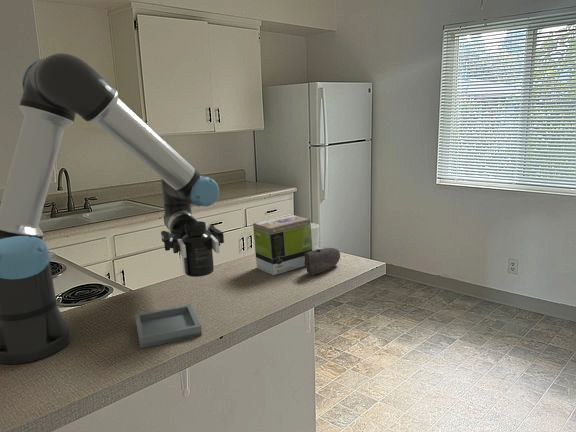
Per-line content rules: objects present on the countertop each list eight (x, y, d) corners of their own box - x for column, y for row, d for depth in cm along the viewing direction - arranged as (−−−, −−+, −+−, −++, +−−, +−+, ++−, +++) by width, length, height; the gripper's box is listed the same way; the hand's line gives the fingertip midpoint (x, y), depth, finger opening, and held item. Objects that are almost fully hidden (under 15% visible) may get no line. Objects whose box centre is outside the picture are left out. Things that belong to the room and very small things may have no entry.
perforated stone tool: (333, 262, 148) (333, 241, 146) (346, 266, 144) (346, 244, 143) (298, 275, 138) (297, 252, 137) (311, 279, 135) (310, 256, 133)
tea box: (294, 257, 155) (292, 213, 151) (313, 265, 146) (312, 218, 143) (255, 267, 146) (252, 221, 143) (272, 276, 138) (270, 227, 135)
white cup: (307, 260, 151) (305, 230, 149) (291, 255, 157) (290, 226, 155) (324, 254, 156) (324, 225, 154) (308, 249, 162) (307, 221, 160)
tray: (140, 348, 99) (139, 338, 99) (136, 323, 111) (135, 314, 111) (201, 335, 104) (200, 325, 103) (191, 313, 116) (190, 304, 115)
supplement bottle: (217, 267, 115) (213, 219, 112) (209, 277, 108) (206, 226, 105) (189, 267, 115) (185, 220, 113) (180, 277, 109) (176, 227, 106)
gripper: (221, 236, 131) (244, 259, 110) (147, 246, 124) (157, 272, 103) (219, 209, 129) (242, 227, 108) (144, 218, 122) (153, 239, 101)
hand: (201, 249), depth 106 cm, fingers closed on supplement bottle, 7 cm apart
